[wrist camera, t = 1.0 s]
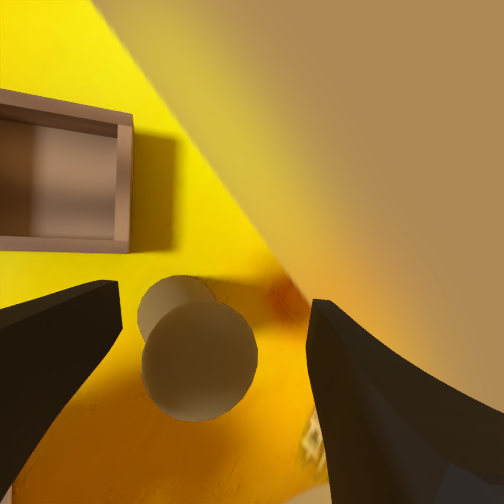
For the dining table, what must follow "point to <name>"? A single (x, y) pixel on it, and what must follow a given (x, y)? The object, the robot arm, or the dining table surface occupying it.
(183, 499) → the dining table surface
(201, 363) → the pepper mill
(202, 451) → the dining table surface
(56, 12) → the dining table surface
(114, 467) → the dining table surface
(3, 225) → the spice rack
